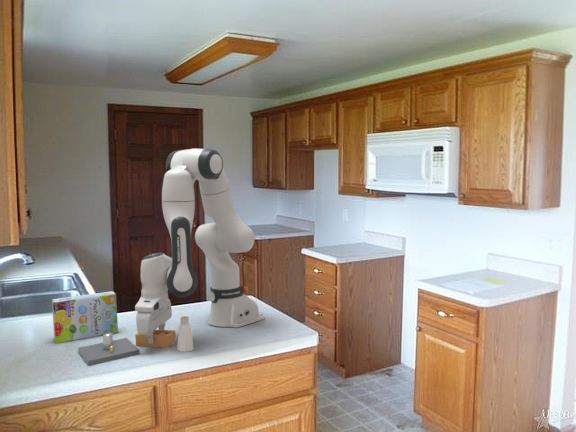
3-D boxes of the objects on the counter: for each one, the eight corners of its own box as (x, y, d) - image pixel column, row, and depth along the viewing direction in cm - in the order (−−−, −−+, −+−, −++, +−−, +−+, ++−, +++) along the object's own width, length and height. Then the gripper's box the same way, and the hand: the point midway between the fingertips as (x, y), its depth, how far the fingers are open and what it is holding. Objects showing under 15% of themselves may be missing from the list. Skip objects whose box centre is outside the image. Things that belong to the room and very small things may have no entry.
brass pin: (113, 355, 159) (112, 345, 159) (114, 356, 158) (113, 346, 158) (109, 356, 159) (109, 346, 158) (110, 357, 158) (110, 347, 157)
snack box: (115, 329, 186) (113, 290, 185) (118, 333, 181) (116, 293, 180) (54, 339, 176) (51, 298, 174) (55, 344, 171) (52, 302, 169)
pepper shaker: (194, 345, 167) (193, 314, 166) (193, 351, 162) (192, 319, 161) (177, 346, 167) (176, 315, 166) (176, 352, 161) (175, 320, 160)
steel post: (112, 350, 164) (111, 331, 163) (114, 353, 161) (113, 334, 161) (102, 352, 162) (101, 333, 161) (105, 355, 160) (104, 336, 159)
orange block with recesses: (135, 345, 168) (135, 334, 168) (144, 339, 174) (143, 328, 173) (168, 347, 166) (168, 336, 165) (175, 341, 172) (175, 330, 171)
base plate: (126, 341, 172) (126, 337, 172) (139, 354, 161) (139, 349, 160) (78, 352, 163) (78, 347, 163) (88, 365, 151) (88, 361, 151)
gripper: (159, 292, 179) (160, 328, 180) (132, 308, 159) (134, 349, 160) (175, 292, 178) (176, 329, 179) (150, 308, 158) (152, 350, 159)
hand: (156, 339), depth 170 cm, fingers closed on orange block with recesses, 6 cm apart
